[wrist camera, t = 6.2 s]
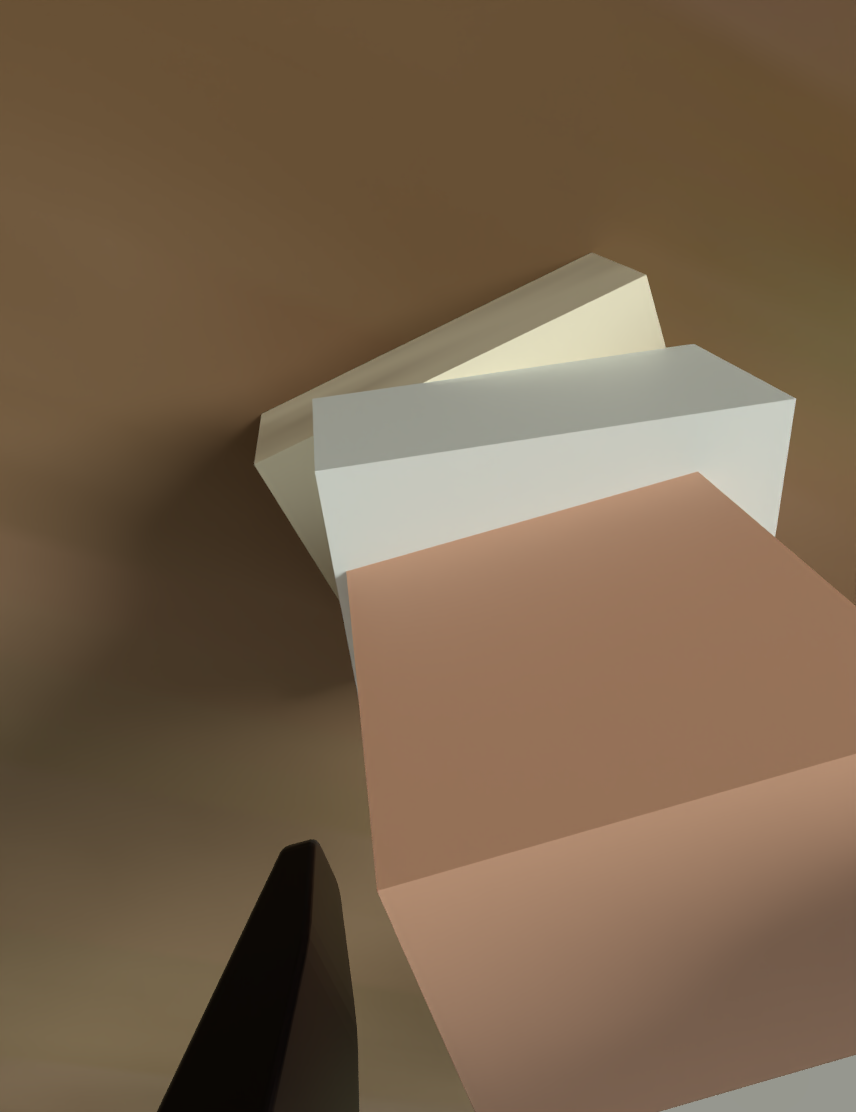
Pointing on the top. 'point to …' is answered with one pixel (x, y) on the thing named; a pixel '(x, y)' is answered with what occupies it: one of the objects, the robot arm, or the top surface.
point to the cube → (616, 799)
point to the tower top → (538, 448)
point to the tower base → (466, 367)
